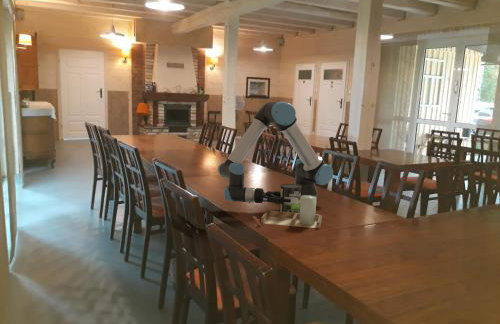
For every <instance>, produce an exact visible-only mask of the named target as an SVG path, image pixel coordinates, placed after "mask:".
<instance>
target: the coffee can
mask: <svg viewBox="0 0 500 324" xmlns="http://www.w3.org/2000/svg"><path fill="white" fill-rule="evenodd" d="M301 188H302V186H301V185H297V184H295V183H283V184H280V191H281V196H280V197H283V198H284V197H292V198H298V204H293V203H284V205H282V204H279V205H280V206H279V211H280V212H293V213H300V199H301Z"/></svg>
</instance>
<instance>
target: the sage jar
mask: <svg viewBox="0 0 500 324" xmlns="http://www.w3.org/2000/svg"><path fill="white" fill-rule="evenodd" d="M316 209H317V198H316V197H315V196H310V195H303V196H301V199H300V215H299V223H300V224H302V225H314V224H315V214H316Z"/></svg>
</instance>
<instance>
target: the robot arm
mask: <svg viewBox="0 0 500 324" xmlns="http://www.w3.org/2000/svg"><path fill="white" fill-rule="evenodd" d="M296 115H297V113H296V109H295V107H294V106H293V105H292V104H291V103H289V102H287V101H268V102H266V103H265V104H264V105H262V106H261V107H260V108H259V109H258V110H257V112H256V113H255V115H254V116H253V117H252V122H251V124H250V125H249V127H248V128H247V129H246V131H245V132H244V134H243V136H242V137H241V138H240V140H239V141H238V143H237V144H236V146H235V147H234V148H233V150H232V151H231V152H230V154H229V156H228V157H227V159H226V160H225V162H222V163H220V164H219V165H218V167H217V173H218V174H219V176H221V177H222V178H225V179H227V180H228V185H227V186H225V188H224V192H223V195H224V196H223V197H224V199H225V201H227V202H228V201H230V202H234V203H235V202H236V203H237V202H238V203H248V204H251V203H255V204H263V202H264V203H265V202H267V203H272V204H273V203H274V204H279V205H280V204H282V205H284V203H293V204H298V198H292V197H284V198H283V197H280V196H281V190H280V191H275V190H274V191H273V190H272V191H271V190H268V191H266V192H265V191H264V188H262V187H260V188H259V187H256V188H255V187H248V186H247V187H245V184H244V183H245V165H244V164H243V161H244V160H245V158H246V157H247V155H248V154H249V152H250V151H251V149H252V148H253V146H254V145H255V144H256V142H257V141H258V140H259V138H260V137H261V135H263V132H264V131H265V130H268V128H269V127H270V126H272V125H274V127H275V128H276V130H277V131H278V132H280V133H282V134H283V135H284V137H285V138H286V139H287V140H288V142H289V144H290V146H291V147H292V148H293V150H294V152H295V153H296V154H297V156H298V158H297V159H296V160H295V166H294V167H295V174H294V175H295V177H294V184H297V185H301V186H302V188H301V196H303V195H310V196H315V197H316V199H317V198H318V192H317V187H316V185H321V186H325V185H328V184H329V183H330V182H331V181H332V179H333V175H334V170H333V169H334V168H333V167H332V166H331V165H330V164H328V163H326V162H325V161H324V159H323V157H322V156H319V155H318V154H317V153H316V151H315V150H314V149H313V147H312V146H311V144H310V142H309V141H308V139H307V138H306V136H305V135H304V132H302V130H301V128H300V126H298V124H297V122H298V119H297V117H296Z"/></svg>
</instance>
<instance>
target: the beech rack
mask: <svg viewBox="0 0 500 324" xmlns="http://www.w3.org/2000/svg"><path fill="white" fill-rule="evenodd" d="M299 215H300V213H293V212H280V210H279V211H278V210H266V211H265V212H264V213H263V215H262V216H261V218H260V219H261V221H260V226H262V227H264V224H266V225H278V226H289V227H290V226H291V227H300V228H313V229H321V226H322V225H321V224H322V222H323V221H322V219H323V215H322V214H316V213H315V224H314V225H302V224H300V223H299Z"/></svg>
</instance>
